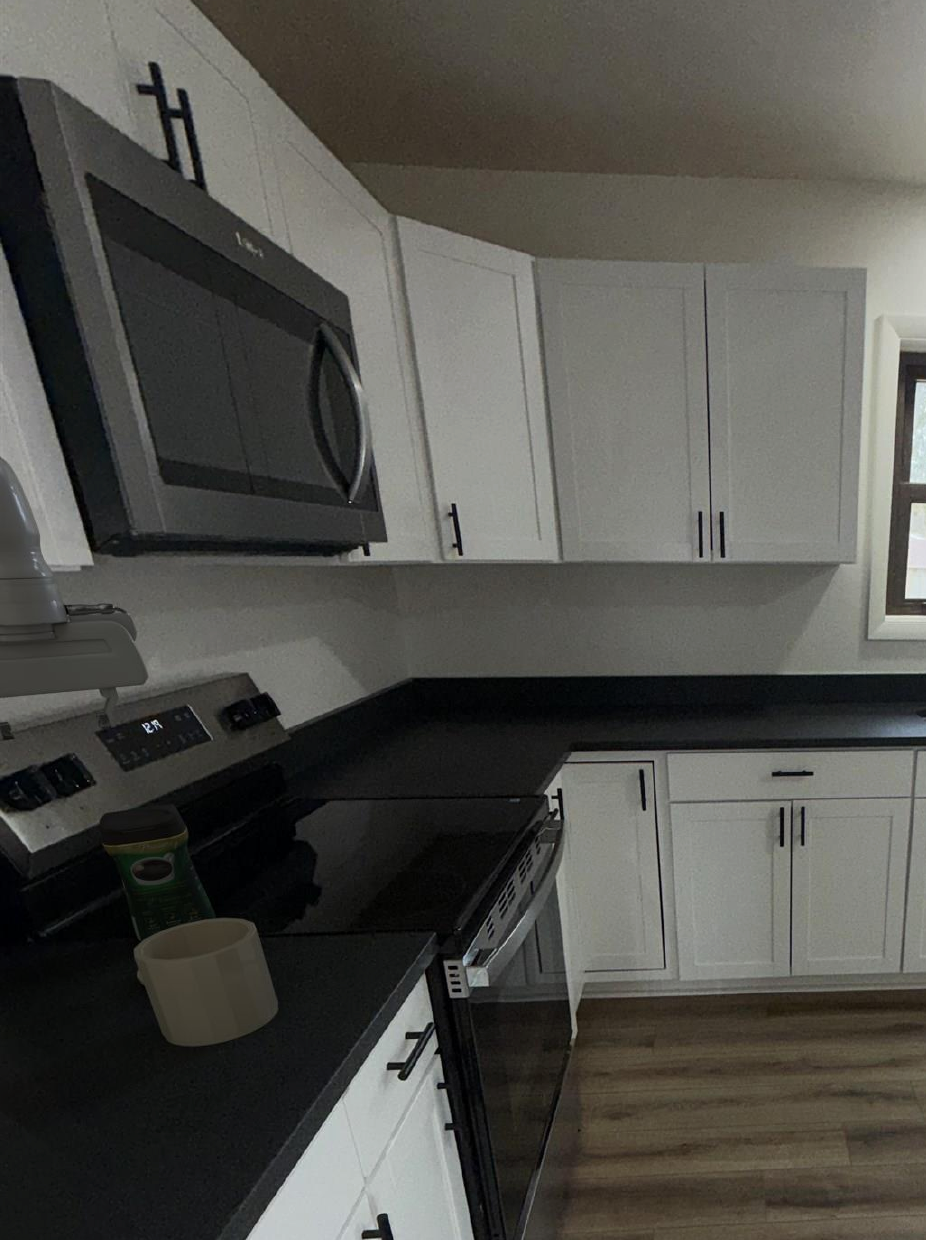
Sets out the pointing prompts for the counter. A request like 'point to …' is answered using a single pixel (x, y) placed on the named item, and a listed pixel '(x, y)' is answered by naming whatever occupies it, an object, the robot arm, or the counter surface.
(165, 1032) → the cup
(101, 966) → the counter surface
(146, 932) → the coffee jar
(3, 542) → the robot arm
